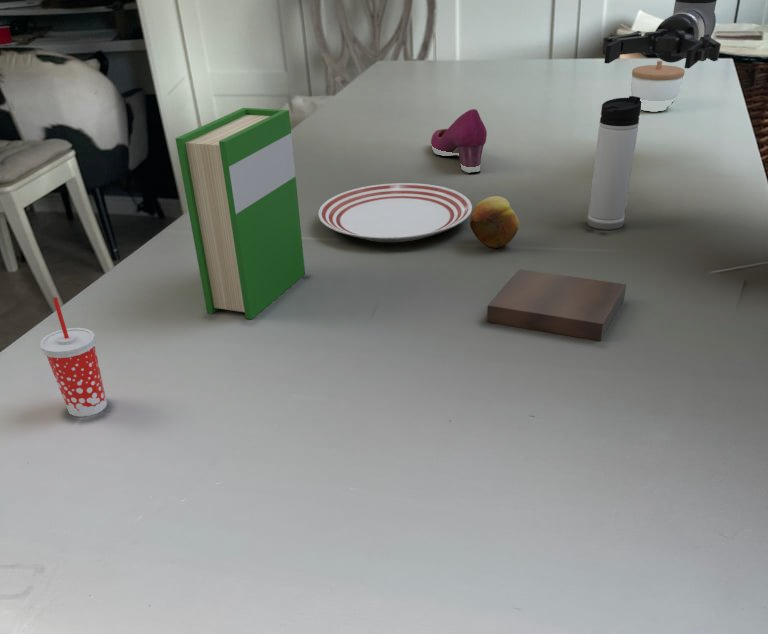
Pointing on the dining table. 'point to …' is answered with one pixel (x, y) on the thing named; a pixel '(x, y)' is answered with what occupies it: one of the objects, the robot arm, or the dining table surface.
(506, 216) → the fruit
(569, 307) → the serving board
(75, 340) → the beverage cup
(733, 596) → the dining table surface
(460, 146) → the high heel
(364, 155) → the dining table surface
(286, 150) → the hardback book
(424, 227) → the dinner plate
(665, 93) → the lidded bowl
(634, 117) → the travel mug
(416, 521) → the dining table surface
